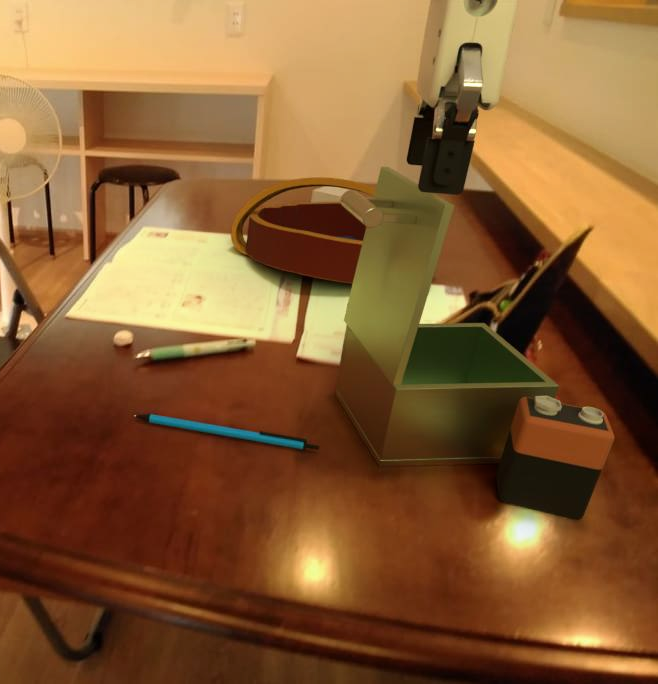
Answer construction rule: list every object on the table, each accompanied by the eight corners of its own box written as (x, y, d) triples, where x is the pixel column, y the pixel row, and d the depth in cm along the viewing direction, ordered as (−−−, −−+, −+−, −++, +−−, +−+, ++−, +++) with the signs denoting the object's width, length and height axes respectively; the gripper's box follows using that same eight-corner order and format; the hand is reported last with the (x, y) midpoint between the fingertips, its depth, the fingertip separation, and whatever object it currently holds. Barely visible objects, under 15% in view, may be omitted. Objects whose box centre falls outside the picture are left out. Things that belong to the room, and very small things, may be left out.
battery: (494, 475, 66) (522, 385, 61) (574, 493, 63) (610, 401, 59) (497, 503, 62) (527, 409, 57) (582, 523, 60) (621, 427, 55)
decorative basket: (450, 280, 117) (473, 191, 112) (402, 311, 94) (427, 201, 89) (270, 242, 135) (283, 163, 130) (193, 260, 112) (204, 166, 107)
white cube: (349, 220, 140) (354, 190, 137) (335, 226, 136) (339, 196, 133) (323, 213, 143) (327, 185, 141) (308, 219, 139) (312, 190, 137)
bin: (465, 391, 80) (484, 322, 76) (533, 462, 68) (559, 385, 64) (334, 393, 78) (346, 324, 74) (378, 467, 66) (396, 388, 62)
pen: (318, 454, 68) (319, 444, 67) (133, 421, 72) (133, 412, 72) (318, 448, 69) (320, 439, 68) (135, 417, 73) (135, 407, 72)
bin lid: (388, 166, 67) (333, 162, 66) (454, 205, 55) (387, 200, 54) (350, 320, 74) (300, 318, 74) (401, 384, 62) (341, 382, 62)
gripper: (576, -73, 41) (502, 210, 48) (511, -54, 56) (463, 159, 63) (442, -73, 42) (391, 201, 50) (414, -55, 57) (378, 154, 65)
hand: (431, 177), depth 57 cm, fingers open, 9 cm apart
